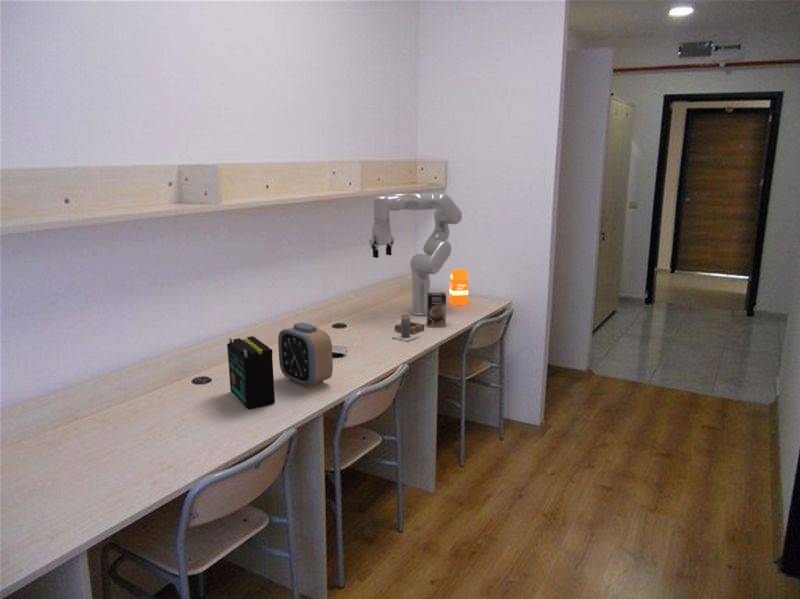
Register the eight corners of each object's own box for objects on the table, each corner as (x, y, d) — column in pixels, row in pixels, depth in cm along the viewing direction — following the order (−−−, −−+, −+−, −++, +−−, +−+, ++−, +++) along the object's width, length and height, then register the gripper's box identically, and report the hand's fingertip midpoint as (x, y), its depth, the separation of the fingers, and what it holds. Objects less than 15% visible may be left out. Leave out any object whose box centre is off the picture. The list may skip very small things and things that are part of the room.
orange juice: (449, 303, 349) (449, 268, 344) (464, 302, 350) (464, 267, 346) (452, 306, 341) (453, 270, 337) (468, 305, 343) (468, 270, 338)
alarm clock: (279, 378, 231) (276, 323, 226) (300, 372, 238) (297, 318, 233) (312, 392, 217) (309, 333, 212) (333, 385, 223) (331, 328, 219)
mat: (404, 334, 288) (404, 332, 288) (419, 337, 282) (419, 336, 282) (392, 338, 281) (392, 337, 281) (407, 341, 276) (407, 340, 275)
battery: (230, 391, 218) (226, 338, 214) (256, 386, 223) (253, 333, 219) (247, 410, 202) (243, 352, 198) (275, 403, 207) (272, 347, 203)
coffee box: (427, 327, 299) (427, 295, 295) (426, 323, 305) (426, 292, 302) (446, 327, 299) (446, 294, 296) (444, 323, 306) (444, 291, 302)
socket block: (408, 327, 300) (407, 321, 299) (424, 330, 294) (424, 324, 293) (394, 331, 292) (394, 325, 292) (411, 335, 286) (411, 328, 285)
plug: (404, 334, 285) (404, 313, 282) (412, 336, 282) (412, 315, 280) (399, 336, 281) (398, 315, 279) (406, 338, 279) (406, 317, 276)
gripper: (387, 219, 309) (388, 253, 313) (364, 222, 296) (364, 257, 300) (398, 220, 304) (399, 254, 308) (375, 223, 291) (376, 259, 295)
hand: (382, 256), depth 304 cm, fingers open, 9 cm apart
